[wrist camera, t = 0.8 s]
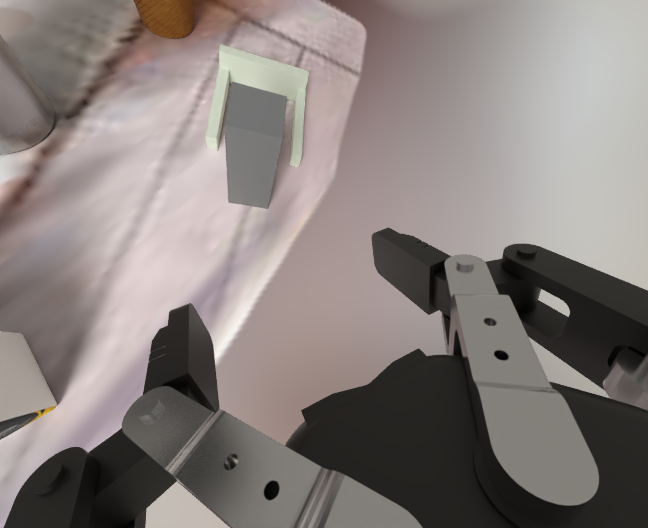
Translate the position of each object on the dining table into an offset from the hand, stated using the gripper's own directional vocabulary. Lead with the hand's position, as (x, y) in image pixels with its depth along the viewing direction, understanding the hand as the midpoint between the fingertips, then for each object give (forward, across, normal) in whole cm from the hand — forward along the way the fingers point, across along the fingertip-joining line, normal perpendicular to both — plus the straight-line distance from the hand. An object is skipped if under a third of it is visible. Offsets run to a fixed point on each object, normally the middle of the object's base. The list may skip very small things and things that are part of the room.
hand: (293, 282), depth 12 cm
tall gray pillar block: (+25, -2, +2) cm, 25 cm away
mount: (+32, -7, -5) cm, 33 cm away
